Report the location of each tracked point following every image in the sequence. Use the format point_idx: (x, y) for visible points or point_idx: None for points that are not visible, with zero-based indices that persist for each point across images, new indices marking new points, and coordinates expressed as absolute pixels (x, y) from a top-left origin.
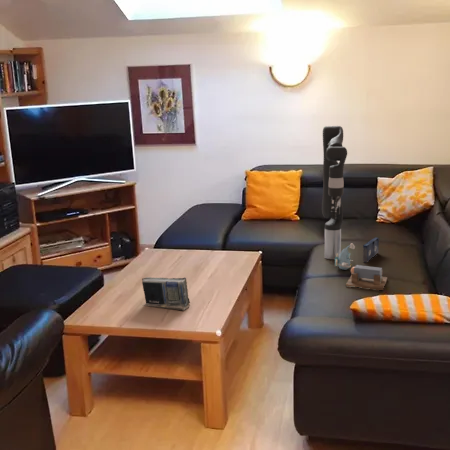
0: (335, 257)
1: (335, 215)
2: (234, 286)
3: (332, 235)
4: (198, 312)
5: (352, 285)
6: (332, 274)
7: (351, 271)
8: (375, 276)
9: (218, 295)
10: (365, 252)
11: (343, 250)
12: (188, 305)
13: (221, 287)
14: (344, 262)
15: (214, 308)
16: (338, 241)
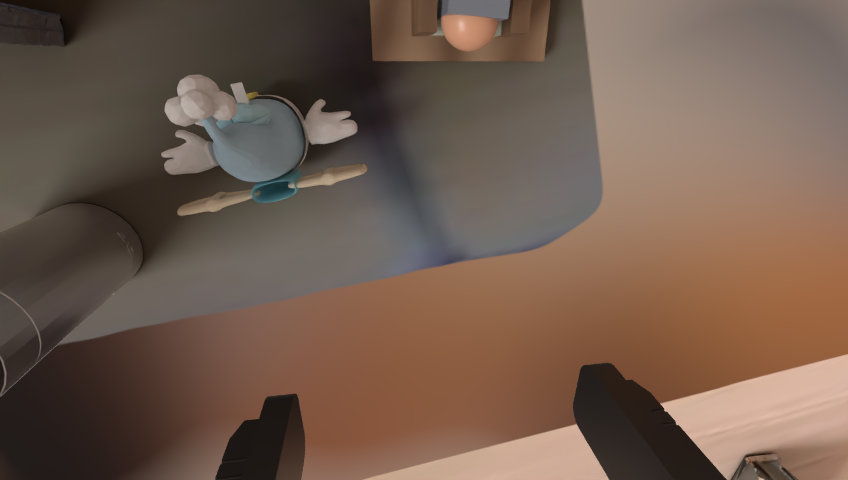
0: (266, 201)
1: (647, 412)
2: None
3: (28, 317)
4: (783, 423)
5: (546, 22)
6: (375, 172)
7: (488, 42)
8: None
9: None
10: (5, 21)
11: (254, 161)
12: (756, 459)
13: None
14: (307, 130)
15: (760, 406)
16: (21, 255)
